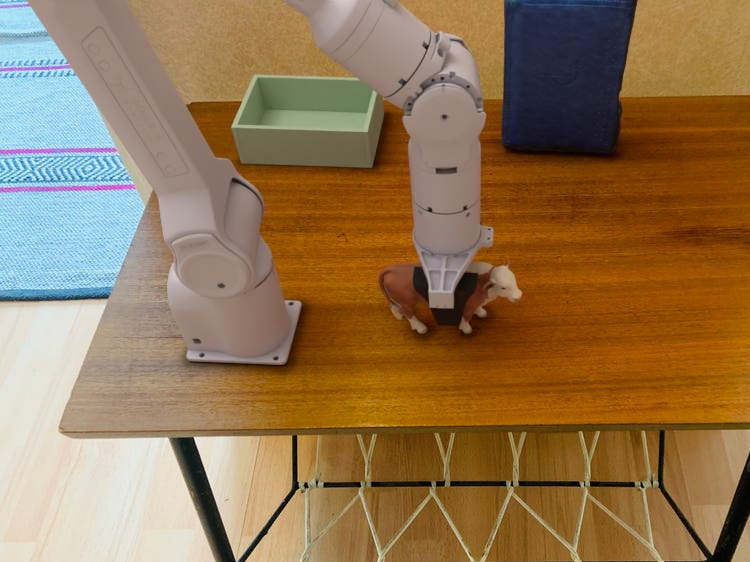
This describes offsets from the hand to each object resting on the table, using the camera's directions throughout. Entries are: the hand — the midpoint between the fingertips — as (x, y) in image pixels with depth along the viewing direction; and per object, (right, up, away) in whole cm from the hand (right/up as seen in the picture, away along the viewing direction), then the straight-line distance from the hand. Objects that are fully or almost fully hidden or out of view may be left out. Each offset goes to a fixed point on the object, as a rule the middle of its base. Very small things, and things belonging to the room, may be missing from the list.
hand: (450, 305), depth 74 cm
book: (+13, +21, +20) cm, 32 cm away
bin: (-17, +22, +21) cm, 35 cm away
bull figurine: (0, -2, +2) cm, 3 cm away
